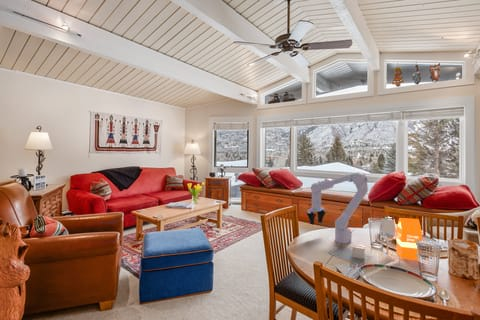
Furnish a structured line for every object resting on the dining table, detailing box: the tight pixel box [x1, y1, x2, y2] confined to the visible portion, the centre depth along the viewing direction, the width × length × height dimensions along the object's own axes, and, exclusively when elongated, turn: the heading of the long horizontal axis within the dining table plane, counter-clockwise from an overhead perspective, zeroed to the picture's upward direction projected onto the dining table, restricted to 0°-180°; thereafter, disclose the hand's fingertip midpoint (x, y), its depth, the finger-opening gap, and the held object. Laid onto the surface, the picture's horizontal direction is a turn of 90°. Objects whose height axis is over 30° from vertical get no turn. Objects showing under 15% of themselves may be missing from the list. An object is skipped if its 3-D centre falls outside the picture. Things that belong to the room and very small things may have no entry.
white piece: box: [351, 243, 366, 259], centre depth 121 cm, size 5×5×5 cm
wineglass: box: [378, 216, 397, 258], centre depth 124 cm, size 8×8×20 cm
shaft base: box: [325, 246, 374, 265], centre depth 123 cm, size 16×16×4 cm
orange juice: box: [396, 217, 423, 261], centre depth 124 cm, size 8×9×20 cm
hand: (316, 223), depth 151 cm, fingers open, 7 cm apart
